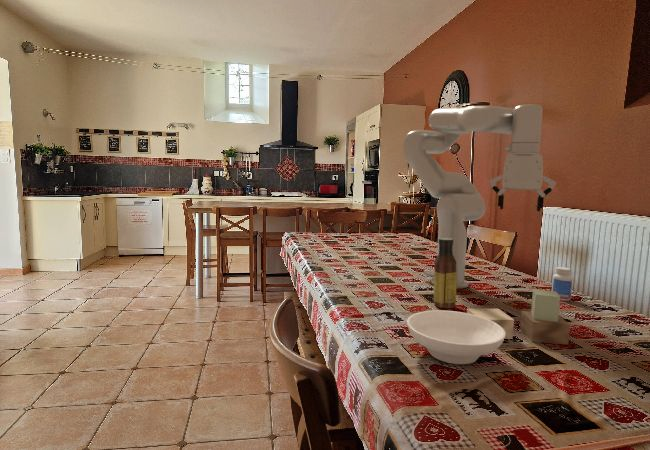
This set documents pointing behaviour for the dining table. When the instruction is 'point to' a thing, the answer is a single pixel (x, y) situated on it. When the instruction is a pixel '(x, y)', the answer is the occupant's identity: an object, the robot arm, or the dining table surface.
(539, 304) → the sage block
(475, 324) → the bowl
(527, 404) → the dining table surface
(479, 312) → the beech block
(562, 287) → the pill bottle
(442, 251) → the sauce bottle
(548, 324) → the tan square block
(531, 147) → the robot arm
